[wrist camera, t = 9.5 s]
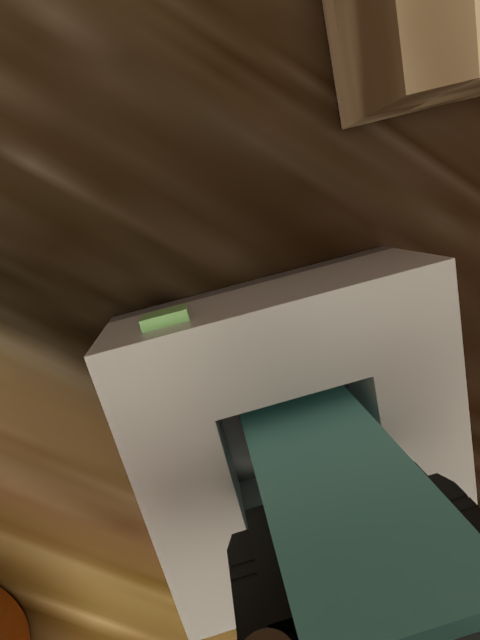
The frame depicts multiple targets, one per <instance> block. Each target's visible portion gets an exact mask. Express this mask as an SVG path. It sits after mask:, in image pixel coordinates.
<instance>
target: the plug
mask: <svg viewBox="0 0 480 640" xmlns="http://www.w3.org/2000/svg"><path fill="white" fill-rule="evenodd" d="M239 415H240V419H241V423H242V427H243V430H244V434H245V438H246V442H247V446H248V449H249V453H250V457H251V461H252V465H253V468H254V472H255V476H256V480H257V484H258V487H259V491H260V495H261V499H262V503H263V506H264V510H265V514H266V518H267V522H268V525H269V529H270V533H271V537H272V541H273V544H274V548H275V552H276V556H277V560H278V563H279V567H280V571H281V575H282V579H283V582H284V586H285V590H286V594H287V598H288V601H289V605H290V609H291V613H292V617H293V620H294V624H295V628H296V632H297V636H298V639H299V640H480V533H479V532H478V531H477V530H476V529H475V528H474V527H473V526H472V525H471V523H470V522H469V521H468V520H467V519H466V518H465V517H464V516H463V515H462V514H461V513H460V511H459V510H458V509H457V508H456V507H455V506H454V505H453V504H452V503H451V502H450V501H449V499H448V498H447V497H446V496H445V495H444V494H443V493H442V492H441V491H440V490H439V489H438V487H437V486H436V485H435V484H434V483H433V482H432V481H431V480H430V479H429V478H428V477H427V475H426V474H425V473H424V472H423V471H422V470H421V469H420V468H419V467H418V466H417V465H416V463H415V462H414V461H413V460H412V459H411V458H410V457H409V456H408V455H407V454H406V453H405V451H404V450H403V449H402V448H401V447H400V446H399V445H398V444H397V443H396V442H395V441H394V439H393V438H392V437H391V436H390V435H389V434H388V433H387V432H386V431H385V430H384V429H383V427H382V426H381V425H380V424H379V423H378V422H377V421H376V420H375V419H374V418H373V417H372V415H371V414H370V413H369V412H368V411H367V410H366V409H365V408H364V407H363V406H362V405H361V403H360V402H359V401H358V400H357V399H356V398H355V397H354V396H353V395H352V394H351V393H350V391H349V390H348V389H347V388H346V387H345V386H344V385H341V386H337V387H334V388H330V389H327V390H323V391H320V392H316V393H313V394H309V395H306V396H302V397H299V398H295V399H291V400H288V401H284V402H281V403H277V404H274V405H270V406H267V407H263V408H260V409H256V410H253V411H249V412H245V413H242V414H239Z"/></svg>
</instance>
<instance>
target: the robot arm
mask: <svg viewBox="0 0 480 640" xmlns="http://www.w3.org/2000/svg"><path fill="white" fill-rule="evenodd" d="M415 463H416V462H415ZM416 465H417V466H418V467H419V465H418V464H417V463H416ZM419 468H420V467H419ZM420 469H421V468H420ZM421 470H422V469H421ZM422 471H423V470H422ZM423 472H424V471H423ZM424 473H425V472H424ZM425 474H426V473H425ZM426 475H427V474H426ZM427 477H428V478H429V479H430V480H431V481H432V482H433V483H434V484H435V485H436V486H437V487H438V489H439V490H440V491H441V492H442V493H443V494H444V495H445V496H446V497H447V498H448V499H449V501H450V502H451V503H452V504H453V505H454V506H455V507H456V508H457V509H458V510H459V511H460V513H461V514H462V515H463V516H464V517H465V518H466V519H467V520H468V521H469V522H470V523H471V525H472V526H473V527H474V528H475V529H476V530H477V531H478V532H479V533H480V508H479V507H478V505H477V504H476V503H475V502H474V501H473V500H472V499H471V498H470V497H468V496H467V494H466V493H465V492H464V491H463V490H462V489H461V488H460V487H459V486H458V485H457V484H456V483H455V482H454V481H452V480H450V479H448V478H446V477H444V476H442V475H440V474H438V473H435V474H432V475H429V476H428V475H427ZM245 515H246V520H247V525H248V529H247V530H244V531H240V532H237V533H234V534H232V535H231V539H230V542H229V545H228V548H227V556H228V565H229V573H230V581H231V589H232V598H233V606H234V614H235V622H236V631H237V640H299V639H298V636H297V632H296V628H295V624H294V620H293V617H292V613H291V609H290V605H289V601H288V598H287V594H286V590H285V586H284V582H283V579H282V575H281V571H280V567H279V563H278V560H277V556H276V552H275V548H274V544H273V541H272V537H271V533H270V529H269V525H268V522H267V518H266V514H265V510H264V506H263V505H260V506H257V507H254V508H250V509H247V510H245Z"/></svg>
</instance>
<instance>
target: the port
mask: <svg viewBox="0 0 480 640" xmlns="http://www.w3.org/2000/svg"><path fill="white" fill-rule="evenodd" d="M84 359H85V362H86V365H87V368H88V370H89V373H90V376H91V378H92V381H93V384H94V386H95V389H96V392H97V394H98V397H99V400H100V403H101V405H102V408H103V411H104V413H105V416H106V419H107V421H108V424H109V427H110V429H111V432H112V435H113V438H114V440H115V443H116V446H117V448H118V451H119V454H120V456H121V459H122V462H123V465H124V467H125V470H126V473H127V475H128V478H129V481H130V483H131V486H132V489H133V491H134V494H135V497H136V500H137V502H138V505H139V508H140V510H141V513H142V516H143V518H144V521H145V524H146V526H147V529H148V532H149V535H150V537H151V540H152V543H153V545H154V548H155V551H156V553H157V556H158V559H159V562H160V564H161V567H162V570H163V572H164V575H165V578H166V580H167V583H168V586H169V588H170V591H171V594H172V597H173V599H174V602H175V605H176V607H177V610H178V613H179V615H180V618H181V621H182V623H183V626H184V629H185V632H186V634H187V637H188V640H201V639H205V638H208V637H211V636H214V635H217V634H221V633H224V632H227V631H230V630H233V629H236V622H235V614H234V606H233V598H232V589H231V581H230V573H229V565H228V556H227V548H228V545H229V542H230V539H231V535H232V534H234V533H237V532H240V531H244V530H247V529H248V525H247V520H246V515H245V510H247V509H250V508H254V507H257V506H260V505H263V503H262V499H261V495H260V491H259V487H258V484H257V480H256V476H255V472H254V468H253V465H252V461H251V457H250V453H249V449H248V446H247V442H246V438H245V434H244V430H243V427H242V423H241V419H240V415H239V414H242V413H245V412H249V411H253V410H256V409H260V408H263V407H267V406H270V405H274V404H277V403H281V402H284V401H288V400H291V399H295V398H299V397H302V396H306V395H309V394H313V393H316V392H320V391H323V390H327V389H330V388H334V387H337V386H341V385H344V386H345V387H346V388H347V389H348V390H349V391H350V393H351V394H352V395H353V396H354V397H355V398H356V399H357V400H358V401H359V402H360V403H361V405H362V406H363V407H364V408H365V409H366V410H367V411H368V412H369V413H370V414H371V415H372V417H373V418H374V419H375V420H376V421H377V422H378V423H379V424H380V425H381V426H382V427H383V429H384V430H385V431H386V432H387V433H388V434H389V435H390V436H391V437H392V438H393V439H394V441H395V442H396V443H397V444H398V445H399V446H400V447H401V448H402V449H403V450H404V451H405V453H406V454H407V455H408V456H409V457H410V458H411V459H412V460H413V461H414V462H416V463H417V464H418V465H419V467H420V468H421V469H422V470H423V471H424V472H425V473H426V474H427V475H428V476H429V475H432V474H435V473H438V474H440V475H442V476H444V477H446V478H448V479H450V480H452V481H454V482H455V483H456V484H457V485H458V486H459V487H460V488H461V489H462V490H463V491H464V492H465V493H466V494H467V496H468V497H470V498H471V499H472V500H473V501H474V502H475V503H476V504H477V505H478V502H477V491H476V480H475V469H474V459H473V448H472V437H471V426H470V415H469V405H468V394H467V383H466V372H465V361H464V351H463V340H462V329H461V318H460V307H459V297H458V286H457V275H456V264H455V258H452V257H446V256H440V255H434V254H428V253H422V252H416V251H410V250H404V249H398V248H392V247H386V246H381V247H377V248H373V249H369V250H366V251H362V252H358V253H354V254H350V255H347V256H343V257H339V258H335V259H331V260H328V261H324V262H320V263H316V264H312V265H309V266H305V267H301V268H297V269H293V270H289V271H286V272H282V273H278V274H274V275H270V276H267V277H263V278H259V279H255V280H251V281H248V282H244V283H240V284H236V285H232V286H229V287H225V288H221V289H217V290H213V291H209V292H206V293H202V294H198V295H194V296H190V297H187V298H183V299H179V300H175V301H171V302H168V303H164V304H160V305H156V306H152V307H149V308H145V309H141V310H137V311H133V312H130V313H126V314H122V315H118V316H114V317H112V318H111V319H110V321H109V322H108V324H107V325H106V327H105V328H104V329H103V331H102V332H101V334H100V335H99V336H98V338H97V339H96V341H95V342H94V343H93V345H92V346H91V348H90V349H89V350H88V352H87V353H86V355H85V356H84Z"/></svg>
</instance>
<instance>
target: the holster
mask: <svg viewBox="0 0 480 640" xmlns="http://www.w3.org/2000/svg"><path fill="white" fill-rule="evenodd" d="M322 5H323V11H324V18H325V24H326V31H327V37H328V43H329V50H330V56H331V63H332V69H333V75H334V82H335V88H336V95H337V101H338V107H339V114H340V120H341V127H342V130H343V129H347V128H351V127H355V126H360V125H364V124H368V123H372V122H376V121H380V120H384V119H388V118H392V117H397V116H401V115H405V114H409V113H413V112H417V111H421V110H425V109H430V108H434V107H438V106H442V105H446V104H450V103H454V102H458V101H462V100H467V99H471V98H475V97H479V96H480V0H322Z"/></svg>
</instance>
